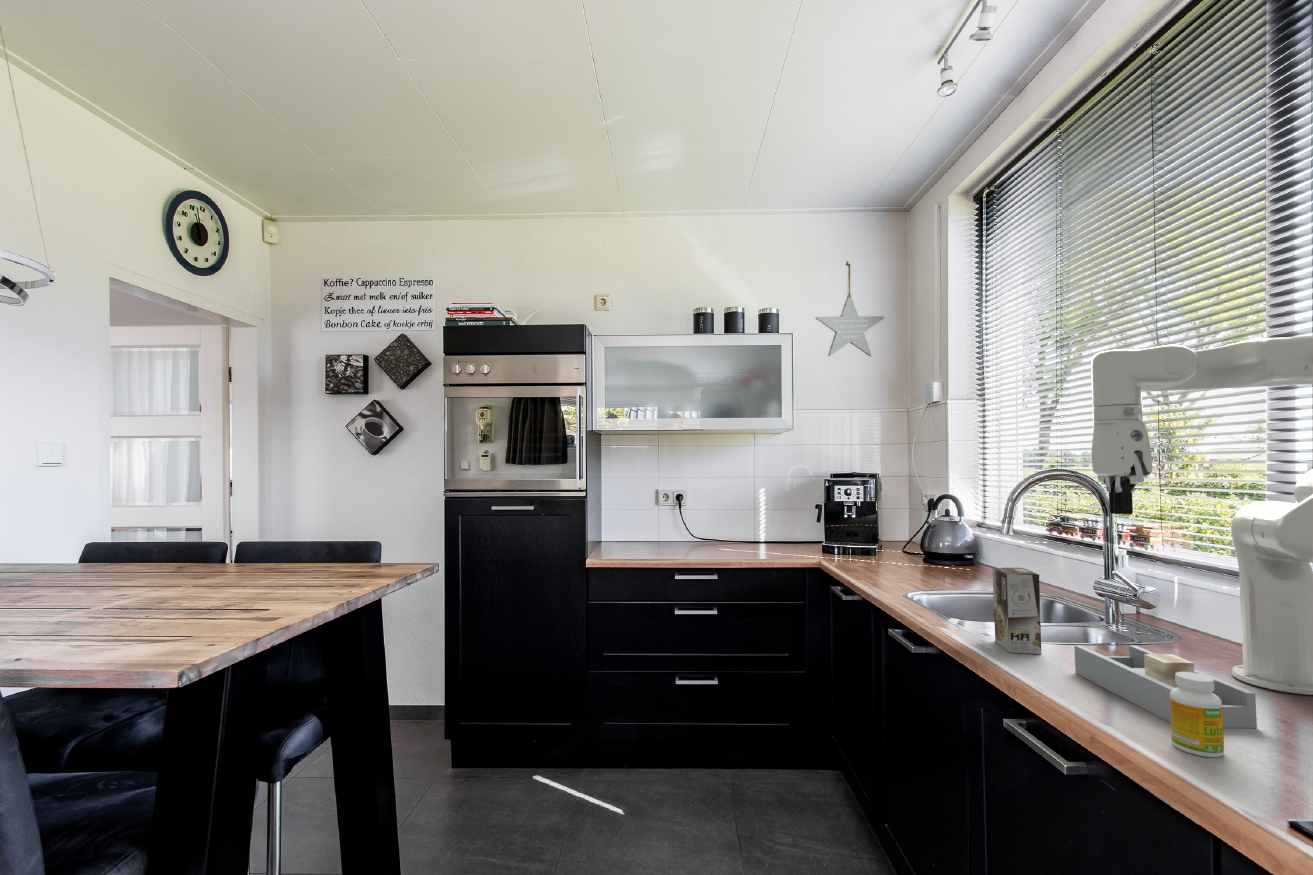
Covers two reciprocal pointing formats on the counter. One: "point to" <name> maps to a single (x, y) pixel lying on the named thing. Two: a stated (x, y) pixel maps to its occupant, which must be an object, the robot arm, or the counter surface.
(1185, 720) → the supplement bottle
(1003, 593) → the coffee box
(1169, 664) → the block
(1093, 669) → the box
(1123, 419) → the robot arm
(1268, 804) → the counter surface
